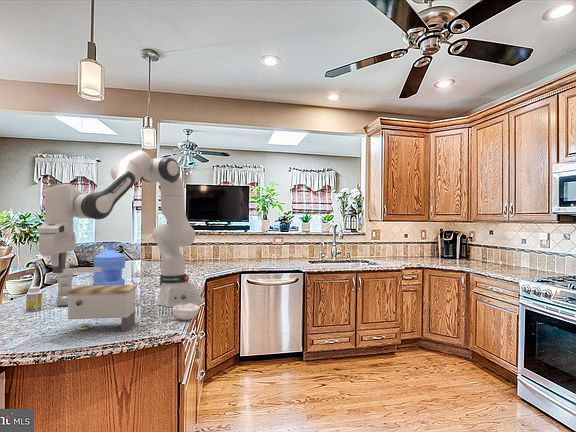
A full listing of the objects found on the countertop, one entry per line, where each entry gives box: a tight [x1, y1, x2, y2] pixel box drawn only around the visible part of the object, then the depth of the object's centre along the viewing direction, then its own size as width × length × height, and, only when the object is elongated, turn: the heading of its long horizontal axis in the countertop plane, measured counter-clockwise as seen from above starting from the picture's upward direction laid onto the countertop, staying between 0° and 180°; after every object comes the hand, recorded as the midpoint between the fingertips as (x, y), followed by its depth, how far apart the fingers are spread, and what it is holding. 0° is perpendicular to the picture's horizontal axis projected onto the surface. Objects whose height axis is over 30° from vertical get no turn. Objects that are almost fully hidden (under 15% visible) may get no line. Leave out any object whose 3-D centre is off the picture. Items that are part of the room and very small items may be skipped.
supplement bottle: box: [25, 286, 43, 313], centre depth 154 cm, size 6×6×10 cm
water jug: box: [92, 242, 126, 286], centre depth 192 cm, size 16×16×28 cm
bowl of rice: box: [172, 303, 201, 321], centre depth 143 cm, size 10×12×7 cm
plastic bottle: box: [55, 262, 74, 307], centre depth 163 cm, size 6×7×20 cm
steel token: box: [75, 322, 93, 332], centre depth 129 cm, size 5×5×2 cm
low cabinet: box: [66, 284, 138, 332], centre depth 129 cm, size 21×12×15 cm, turn 99°
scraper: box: [52, 253, 102, 274], centre depth 127 cm, size 16×3×7 cm, turn 100°
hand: (59, 265), depth 126 cm, fingers closed on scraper, 3 cm apart
